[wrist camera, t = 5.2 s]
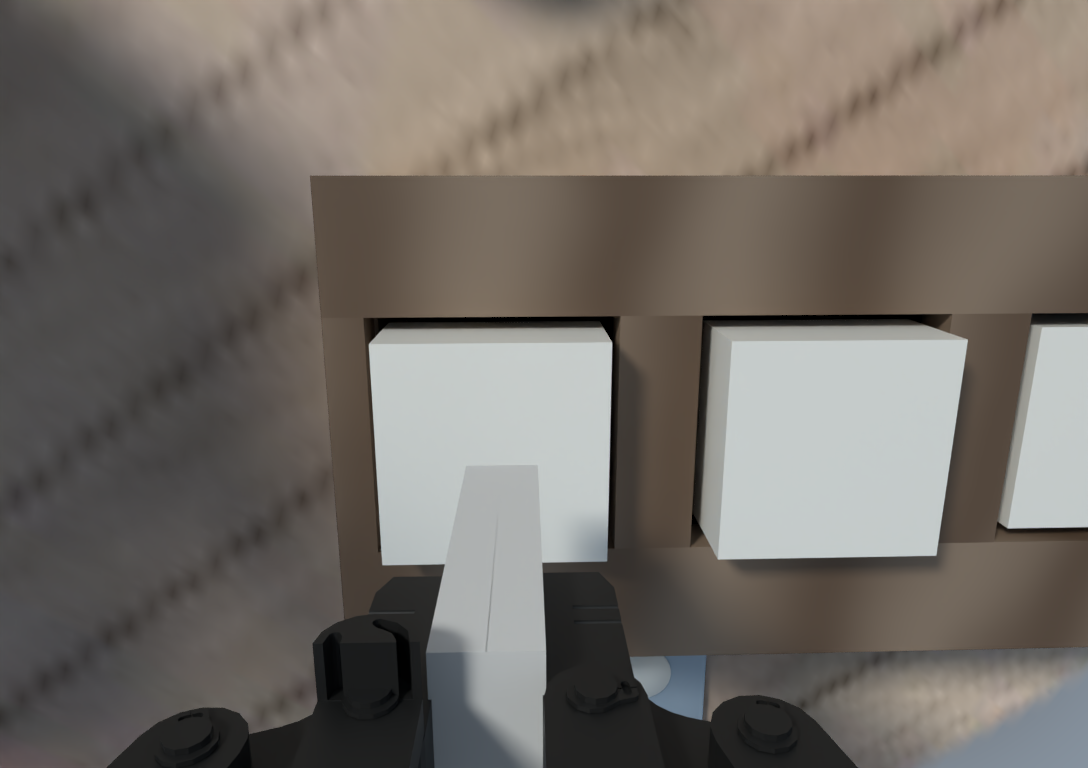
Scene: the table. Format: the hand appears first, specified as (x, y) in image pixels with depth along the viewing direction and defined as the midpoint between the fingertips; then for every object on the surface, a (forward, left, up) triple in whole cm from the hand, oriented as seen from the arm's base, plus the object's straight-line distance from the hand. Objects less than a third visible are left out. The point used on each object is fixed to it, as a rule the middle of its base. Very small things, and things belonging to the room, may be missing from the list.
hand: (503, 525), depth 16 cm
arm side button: (0, 0, -7) cm, 7 cm away
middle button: (+9, 0, -7) cm, 11 cm away
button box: (+9, 0, -12) cm, 15 cm away
